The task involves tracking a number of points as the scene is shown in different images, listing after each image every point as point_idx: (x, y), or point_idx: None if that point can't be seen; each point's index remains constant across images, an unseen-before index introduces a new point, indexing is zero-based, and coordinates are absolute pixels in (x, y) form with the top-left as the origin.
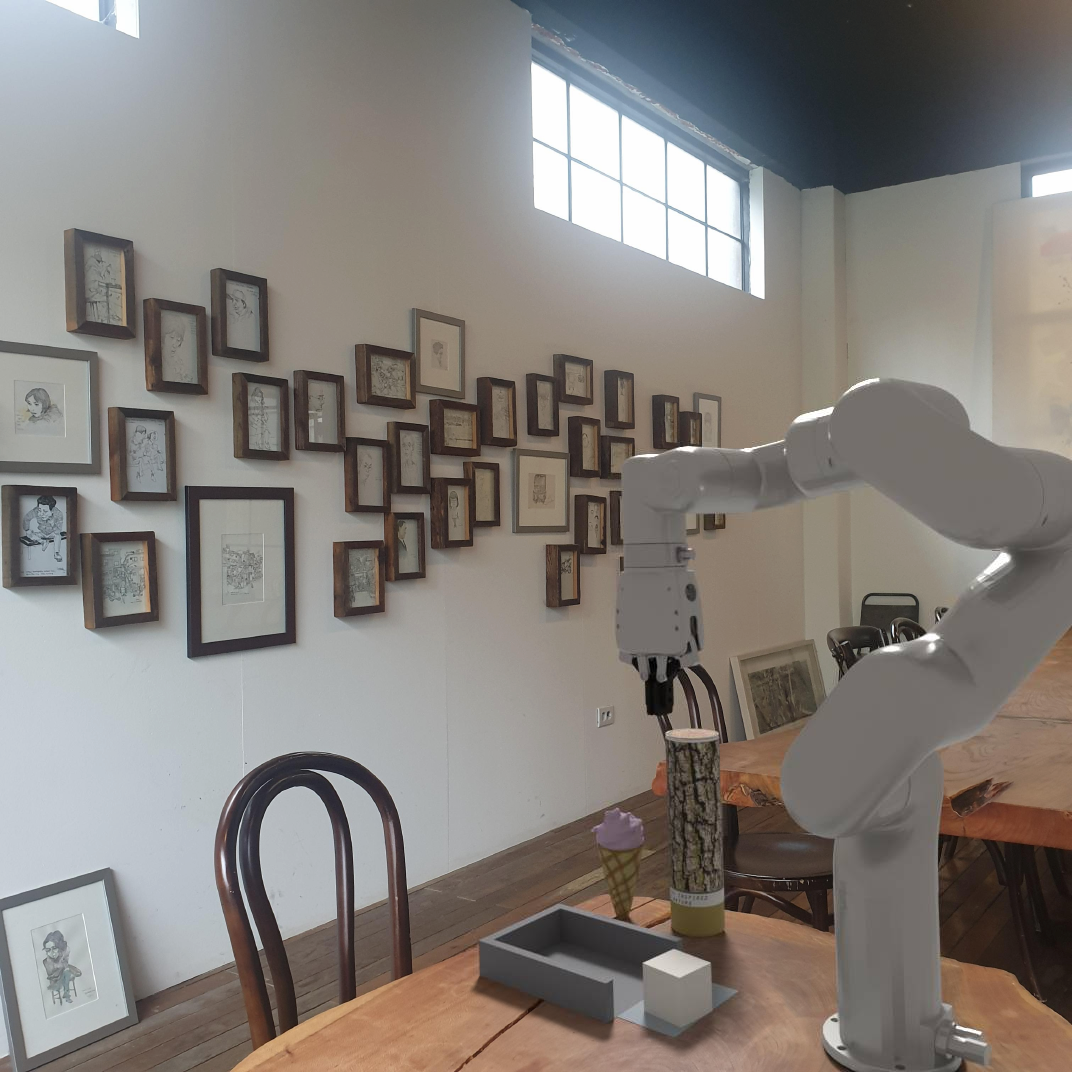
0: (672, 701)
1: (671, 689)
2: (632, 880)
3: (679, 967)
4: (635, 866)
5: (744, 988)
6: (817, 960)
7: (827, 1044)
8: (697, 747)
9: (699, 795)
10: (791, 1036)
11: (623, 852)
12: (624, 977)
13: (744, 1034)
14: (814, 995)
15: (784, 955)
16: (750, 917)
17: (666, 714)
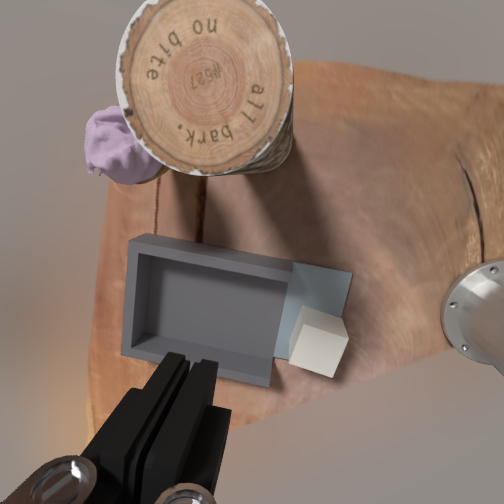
0: (227, 427)
1: (214, 479)
2: None
3: (324, 359)
4: None
5: (352, 255)
6: (408, 158)
7: (451, 343)
8: (254, 162)
9: (266, 164)
10: (413, 321)
11: (156, 177)
12: (246, 292)
13: (375, 333)
14: (419, 241)
15: (371, 162)
16: (304, 66)
17: (213, 394)
